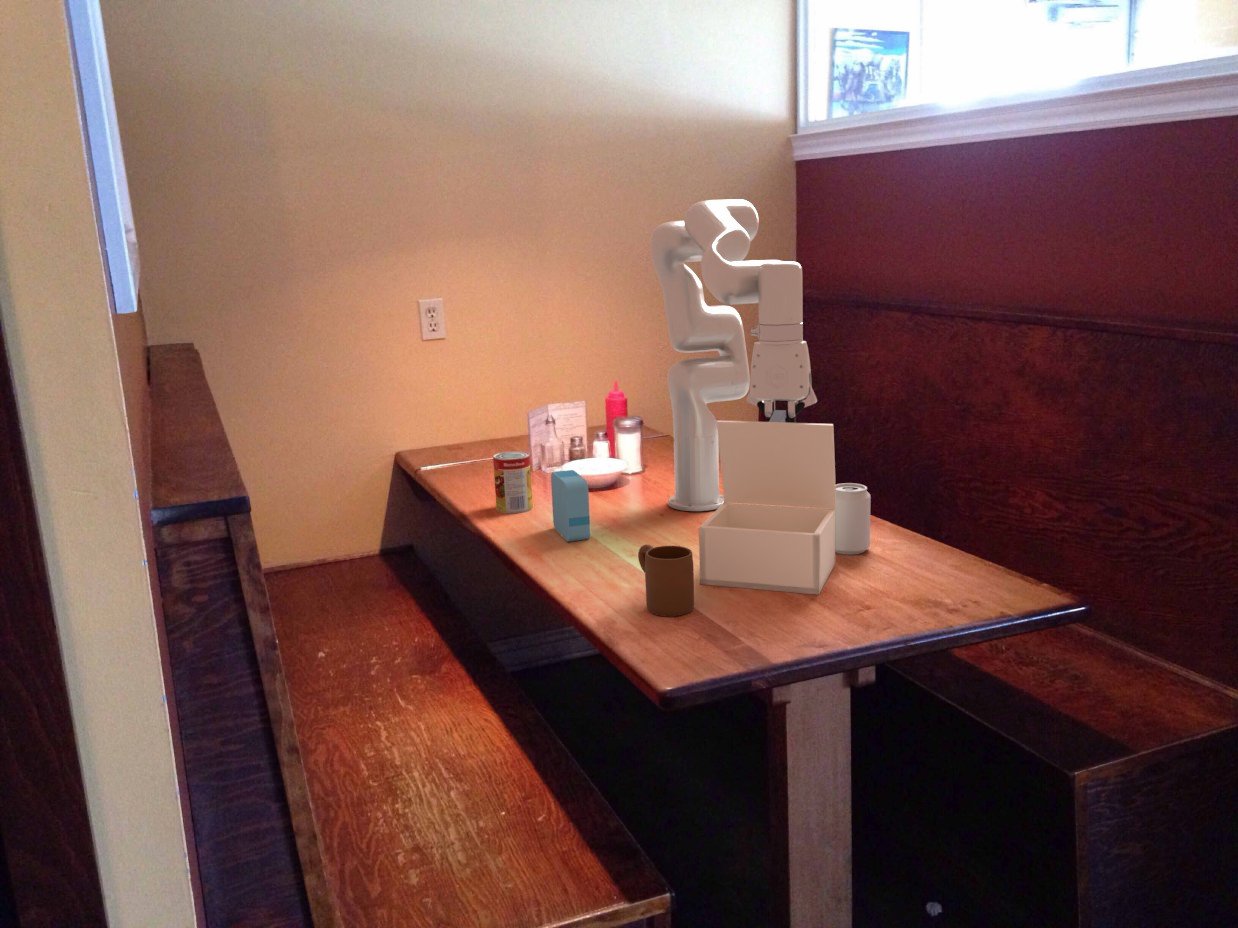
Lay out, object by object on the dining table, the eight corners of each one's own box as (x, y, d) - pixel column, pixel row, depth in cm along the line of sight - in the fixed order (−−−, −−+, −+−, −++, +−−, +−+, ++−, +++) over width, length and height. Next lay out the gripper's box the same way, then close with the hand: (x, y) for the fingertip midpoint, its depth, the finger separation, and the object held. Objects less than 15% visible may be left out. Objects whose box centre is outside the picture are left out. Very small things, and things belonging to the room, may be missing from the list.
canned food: (525, 502, 234) (522, 449, 231) (537, 509, 227) (534, 455, 224) (491, 507, 231) (488, 454, 228) (503, 515, 224) (500, 460, 221)
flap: (724, 502, 189) (731, 487, 194) (835, 509, 182) (840, 493, 187) (716, 421, 182) (724, 408, 187) (832, 425, 175) (838, 411, 180)
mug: (622, 599, 171) (620, 544, 169) (661, 589, 175) (659, 535, 172) (664, 621, 161) (662, 563, 159) (704, 610, 165) (702, 553, 162)
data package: (590, 541, 203) (588, 481, 201) (568, 543, 202) (565, 483, 199) (574, 525, 214) (571, 468, 212) (553, 527, 213) (550, 470, 210)
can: (871, 544, 194) (872, 482, 191) (867, 557, 187) (868, 492, 185) (831, 542, 197) (831, 480, 194) (825, 554, 190) (825, 490, 187)
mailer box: (724, 555, 191) (723, 502, 189) (835, 564, 184) (835, 509, 182) (699, 584, 177) (698, 527, 174) (818, 594, 169) (819, 535, 167)
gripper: (730, 336, 181) (732, 441, 184) (822, 336, 175) (823, 444, 179) (741, 332, 187) (743, 433, 191) (830, 331, 182) (830, 435, 185)
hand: (781, 437), depth 185 cm, fingers closed on flap, 2 cm apart
